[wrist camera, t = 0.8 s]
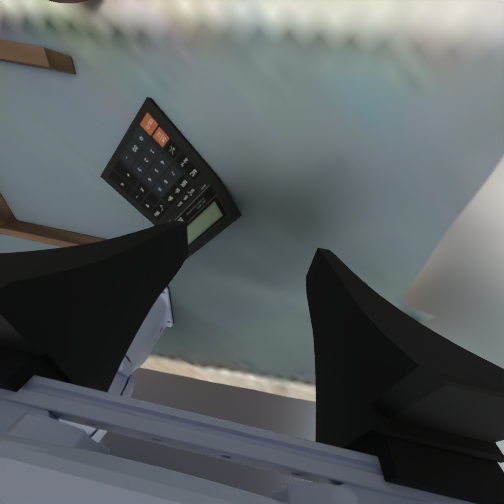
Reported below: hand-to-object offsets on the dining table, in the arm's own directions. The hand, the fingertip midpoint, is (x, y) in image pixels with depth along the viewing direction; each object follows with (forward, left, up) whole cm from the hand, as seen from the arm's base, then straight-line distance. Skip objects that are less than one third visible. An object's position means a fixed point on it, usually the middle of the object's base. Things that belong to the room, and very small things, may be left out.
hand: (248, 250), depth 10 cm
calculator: (-1, +9, -10) cm, 14 cm away
